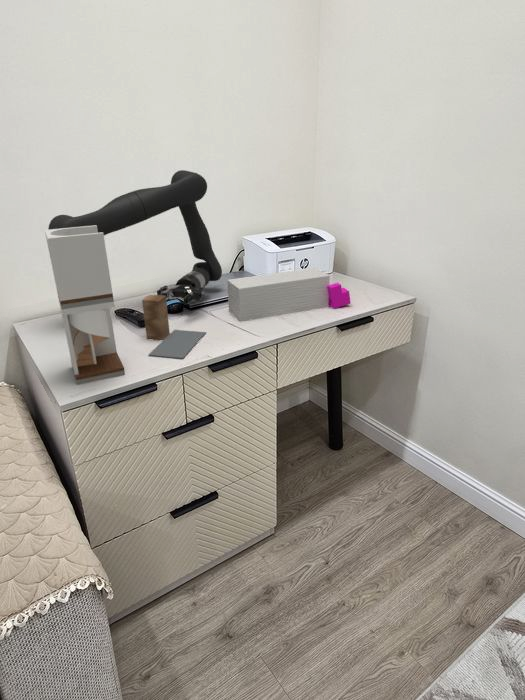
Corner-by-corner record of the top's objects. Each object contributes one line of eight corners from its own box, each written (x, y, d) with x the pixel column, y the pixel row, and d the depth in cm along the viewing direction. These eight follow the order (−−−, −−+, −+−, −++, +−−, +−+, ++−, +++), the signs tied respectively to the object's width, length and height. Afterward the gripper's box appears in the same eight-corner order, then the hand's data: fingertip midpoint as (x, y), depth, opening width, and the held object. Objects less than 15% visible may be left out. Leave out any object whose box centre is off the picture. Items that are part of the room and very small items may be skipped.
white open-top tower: (77, 384, 117) (47, 238, 102) (72, 366, 126) (44, 230, 111) (125, 374, 121) (103, 233, 106) (117, 358, 130) (96, 225, 115)
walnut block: (146, 339, 141) (141, 300, 136) (154, 332, 146) (149, 294, 141) (162, 340, 140) (158, 301, 135) (169, 334, 145) (165, 295, 140)
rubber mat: (148, 356, 131) (148, 354, 131) (174, 330, 147) (174, 329, 146) (183, 359, 129) (183, 357, 128) (206, 333, 144) (205, 332, 144)
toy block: (350, 303, 163) (348, 282, 159) (333, 308, 162) (330, 288, 158) (331, 290, 176) (329, 270, 172) (316, 295, 175) (312, 275, 171)
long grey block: (313, 297, 173) (314, 267, 169) (328, 306, 164) (329, 275, 160) (228, 311, 162) (227, 279, 157) (240, 321, 153) (238, 288, 148)
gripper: (170, 273, 164) (149, 287, 150) (210, 275, 161) (192, 290, 146) (172, 294, 167) (151, 310, 153) (211, 296, 164) (194, 313, 150)
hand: (171, 300), depth 150 cm, fingers open, 8 cm apart
